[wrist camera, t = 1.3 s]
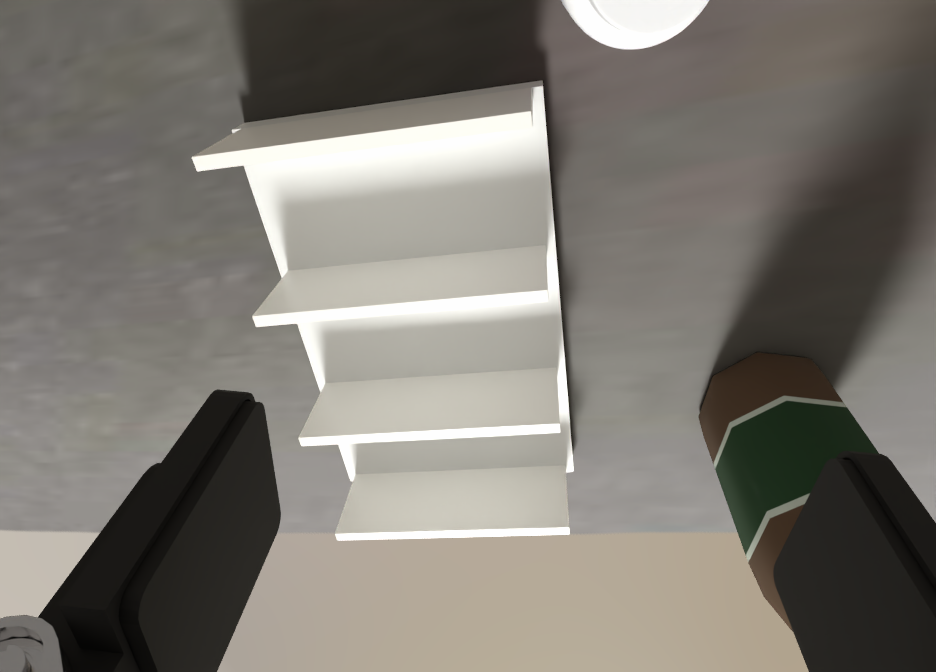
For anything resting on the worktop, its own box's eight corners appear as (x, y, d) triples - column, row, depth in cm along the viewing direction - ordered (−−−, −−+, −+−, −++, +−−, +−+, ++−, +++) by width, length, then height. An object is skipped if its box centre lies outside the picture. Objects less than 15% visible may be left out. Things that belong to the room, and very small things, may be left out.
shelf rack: (542, 80, 28) (544, 109, 23) (572, 455, 40) (578, 534, 35) (244, 122, 31) (180, 158, 25) (356, 465, 43) (329, 540, 37)
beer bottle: (686, 362, 36) (886, 895, 15) (830, 332, 34) (1276, 895, 13) (703, 458, 39) (883, 991, 19) (834, 436, 37) (1189, 1001, 17)
